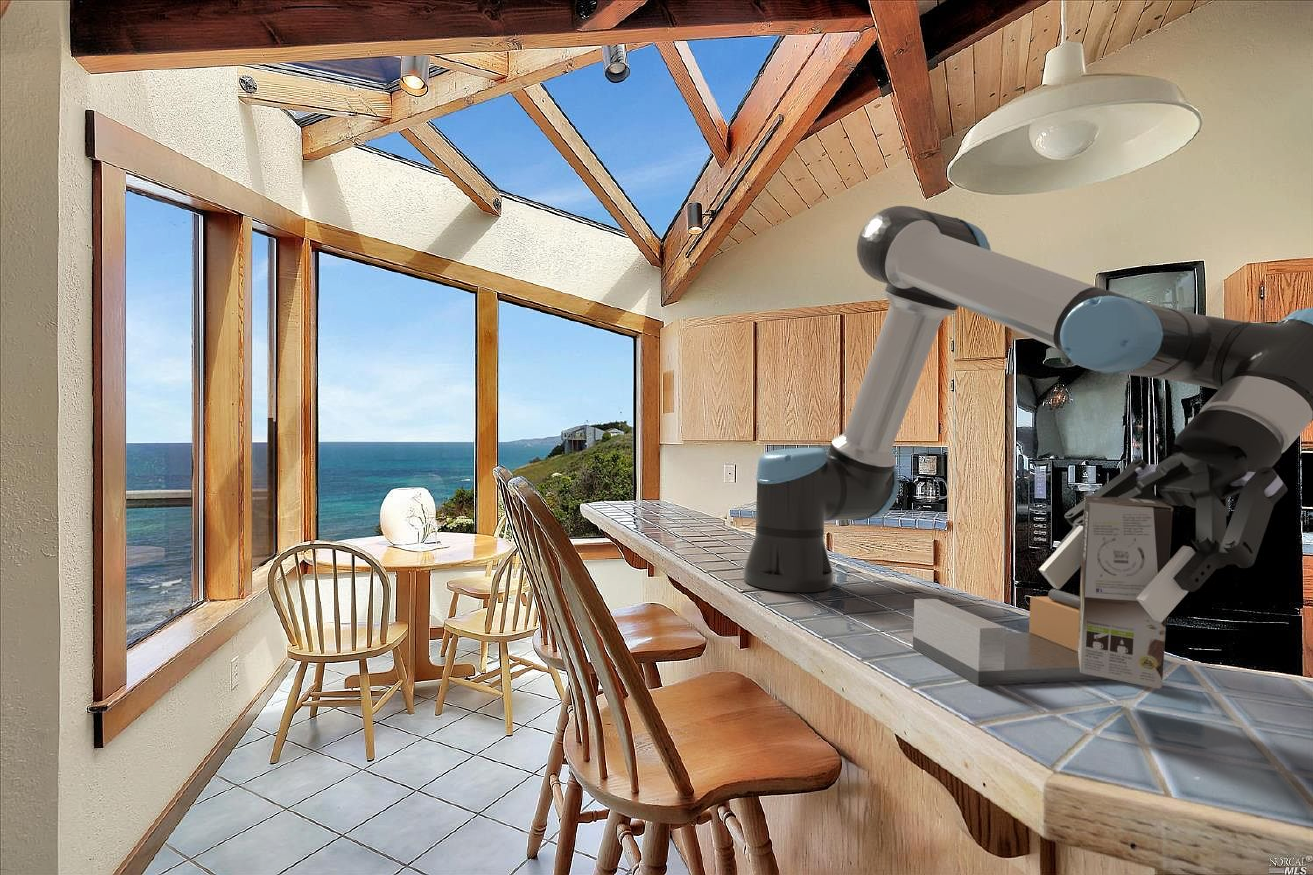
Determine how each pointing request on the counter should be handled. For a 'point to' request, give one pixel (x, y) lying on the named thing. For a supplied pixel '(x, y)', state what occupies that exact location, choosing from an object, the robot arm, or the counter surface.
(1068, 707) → the counter surface
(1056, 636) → the block
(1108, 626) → the coffee box
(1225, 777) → the counter surface
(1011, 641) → the vise bed
